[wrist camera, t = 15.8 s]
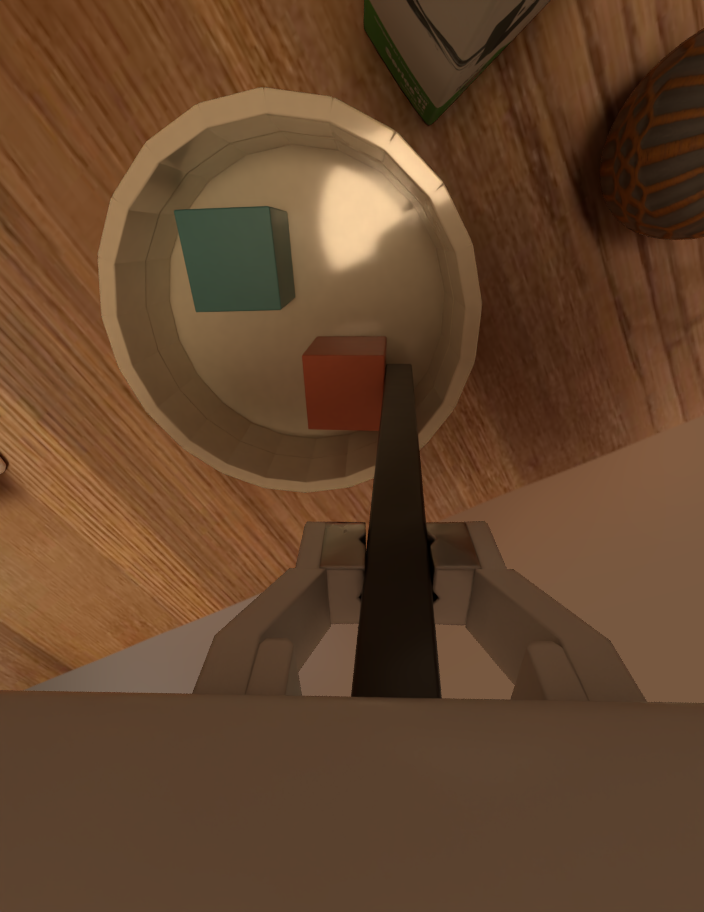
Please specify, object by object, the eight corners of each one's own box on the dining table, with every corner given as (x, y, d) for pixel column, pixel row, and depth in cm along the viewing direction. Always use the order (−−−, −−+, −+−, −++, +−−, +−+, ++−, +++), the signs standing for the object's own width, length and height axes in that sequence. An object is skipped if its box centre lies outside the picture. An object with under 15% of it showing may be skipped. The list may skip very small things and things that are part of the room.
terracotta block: (386, 335, 22) (384, 355, 18) (385, 402, 24) (383, 431, 20) (316, 335, 22) (301, 355, 19) (320, 401, 24) (307, 430, 21)
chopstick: (412, 363, 21) (447, 749, 5) (410, 388, 21) (438, 792, 6) (385, 363, 21) (346, 738, 5) (385, 387, 22) (348, 782, 6)
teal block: (287, 211, 19) (269, 205, 16) (295, 298, 21) (281, 310, 18) (207, 214, 19) (172, 209, 16) (223, 300, 21) (195, 312, 18)
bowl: (470, 120, 18) (512, 72, 13) (440, 440, 26) (458, 492, 21) (123, 137, 19) (27, 99, 13) (200, 443, 27) (160, 493, 21)
